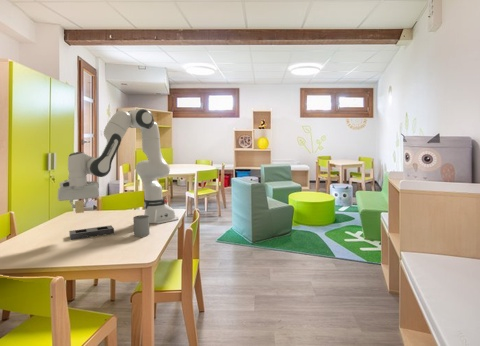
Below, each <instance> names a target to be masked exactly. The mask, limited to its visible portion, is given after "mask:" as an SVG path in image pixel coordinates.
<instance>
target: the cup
mask: <svg viewBox="0 0 480 346" xmlns="http://www.w3.org/2000/svg"><path fill="white" fill-rule="evenodd" d="M132 220H133V236H134V237H138V238H139V237H142V238H143V237H147V236H149V235H150V234H151V233H150V232H151V231H150V223H149V216H147V215H143V214H140V215H135V216H133V219H132Z"/></svg>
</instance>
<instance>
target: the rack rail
mask: <svg viewBox="0 0 480 346" xmlns="http://www.w3.org/2000/svg"><path fill="white" fill-rule="evenodd" d="M68 232H69V238H70V241H73V240H80V239H81V240H82V239H86V238H87V239H88V238H93V237H101V236H107V235H114V234H115V228H114V227H113V226H112V224H111V225H104V226H97V227H96V226H95V227H87V228H82V229H81V228H80V229H74V230H69V231H68Z"/></svg>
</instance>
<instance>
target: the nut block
mask: <svg viewBox="0 0 480 346" xmlns="http://www.w3.org/2000/svg"><path fill="white" fill-rule="evenodd" d="M84 203H85V202H84V199H80V200H74V204H75V208H74V212H75V214H81V213H82V214H83V213H84V212H85V207H84Z"/></svg>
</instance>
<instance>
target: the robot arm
mask: <svg viewBox="0 0 480 346" xmlns="http://www.w3.org/2000/svg"><path fill="white" fill-rule="evenodd" d="M129 128H131V129H140V132H141V147H142V148H141V149H142V152H143V154H144V155H145V156H146V158H147V159H145V160H141V161H138V162H137V163H136V164H135V165H136V166H135V173H136V174H137V175H138V176H139V178H140V179H141V182H142V185H143V190H144V191H143V192H144V200H143V201H144V202H143V207H144V212H143V213H144V215H147V216H149V224H163V223H169V222H174V221H179V219H180V218H179V216H178V215H176V214H175V210H174V208H172V207H171V206H170V205H168V204H167V203H168V199H165V198H163V186H162V184H160V183H159V180H158V179H163V178H167V177H168V175H169V174H170V171H171V168H170V164H168V163H167V161H165V160H166V159H164V156H163V154H162V150H161V134H160V128H159V125H158V123H157V122H155V119H154V116H153V114H152V111H150V110H148V109H145V108H142V109H141V108H140V109H139V108H138V109H133V110H129V111H126V110H123V109H120V110H117V111H116V112H115V113H113V115H112V117H111V118H110V119H109V121H107V124H106V126H105V127H104V130H103V135H104V137H105V138H104V139H106V145H105V147H104V149H103V151H102V153H101V155H99V156H98V157H95V156H94V157H93V156H90V155H89V154H87V153H85V152H84V151H76V152H72V153H70V154H69V155H68V156H67V170H68V176H67V177H68V179H66V180H63V181H61V182H59V188H58V189H57V200H58V202H63V201H66V202H67V201H69V203H70V205H71V209H75V203H74V204H73V201H79V200H85V202H84V208H86V207H87V204H88V202H89V199H98V198H99V197H100V193H99V187H100V185H99V182H97V181H95V180H93V181H90V180H89V181H87V180H88V179H87V175H91V176H96V177H98V178H104V177H106V176H108V175H109V174H110V172H111V169H112V163H113V160H114V158H115V156H116V154H117V152H118V150H119V148H120V146H121V142H122V140H123V138H124V136H125V134H126V133H127V131H128V130H129Z"/></svg>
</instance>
